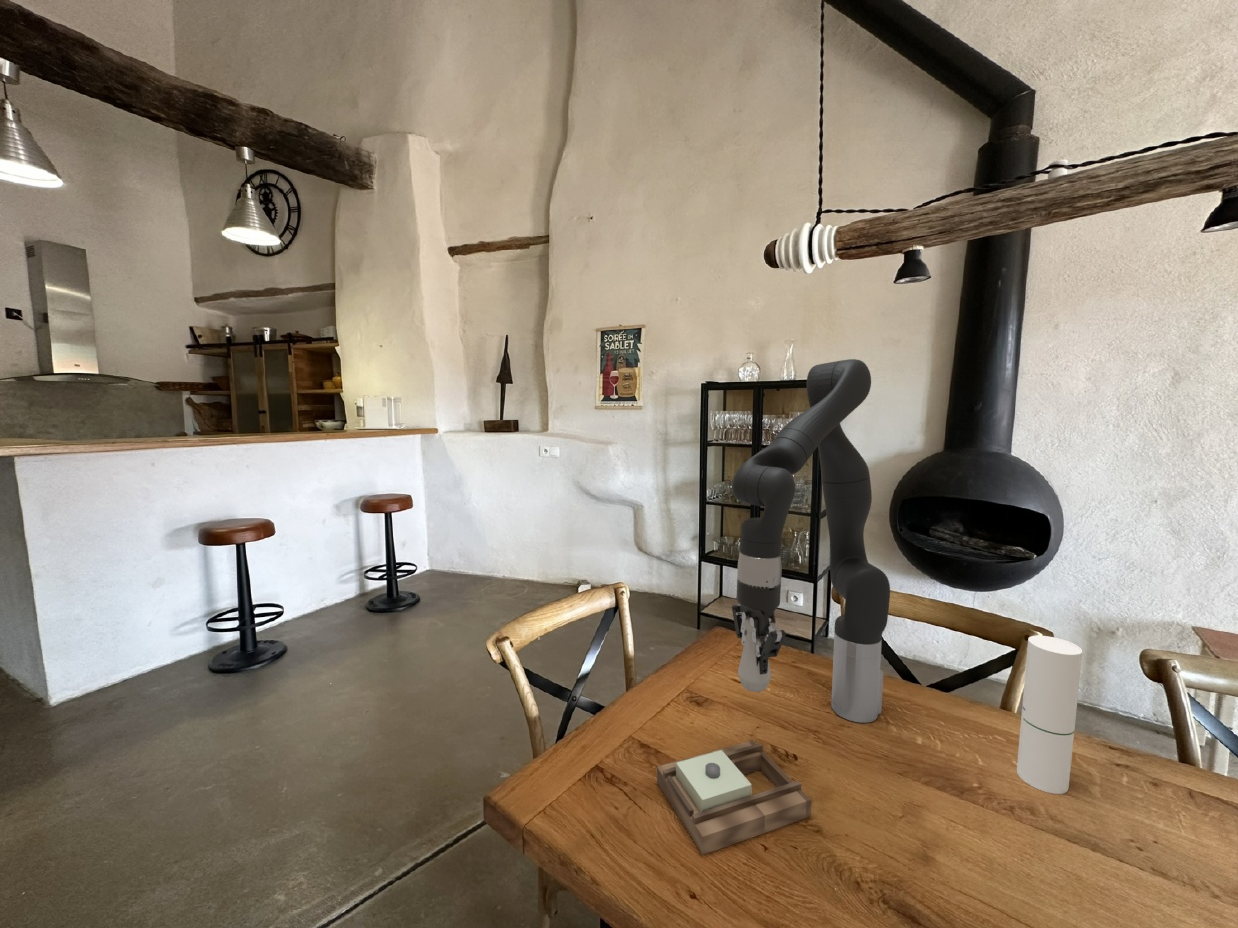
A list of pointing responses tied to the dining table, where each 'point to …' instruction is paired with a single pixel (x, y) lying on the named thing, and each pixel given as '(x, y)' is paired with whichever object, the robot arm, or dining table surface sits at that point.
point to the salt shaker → (752, 664)
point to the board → (738, 802)
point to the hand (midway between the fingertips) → (754, 669)
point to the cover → (712, 780)
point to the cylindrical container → (1049, 713)
